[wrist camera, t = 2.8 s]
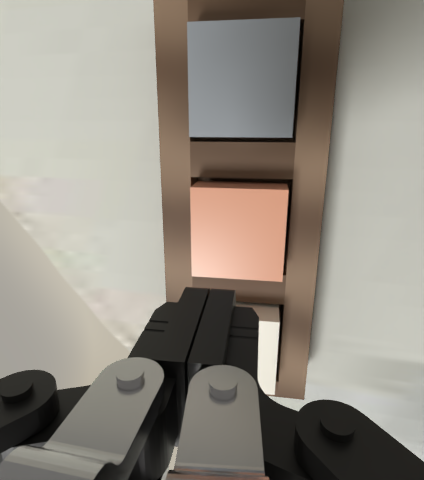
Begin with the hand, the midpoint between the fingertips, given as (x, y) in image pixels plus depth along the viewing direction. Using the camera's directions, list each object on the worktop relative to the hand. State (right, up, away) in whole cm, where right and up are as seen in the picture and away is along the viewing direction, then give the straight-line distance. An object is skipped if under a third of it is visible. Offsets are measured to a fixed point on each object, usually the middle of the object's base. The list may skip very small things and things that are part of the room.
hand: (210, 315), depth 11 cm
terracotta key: (+2, +3, +10) cm, 11 cm away
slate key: (+2, +10, +8) cm, 13 cm away
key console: (+2, +4, +12) cm, 13 cm away
